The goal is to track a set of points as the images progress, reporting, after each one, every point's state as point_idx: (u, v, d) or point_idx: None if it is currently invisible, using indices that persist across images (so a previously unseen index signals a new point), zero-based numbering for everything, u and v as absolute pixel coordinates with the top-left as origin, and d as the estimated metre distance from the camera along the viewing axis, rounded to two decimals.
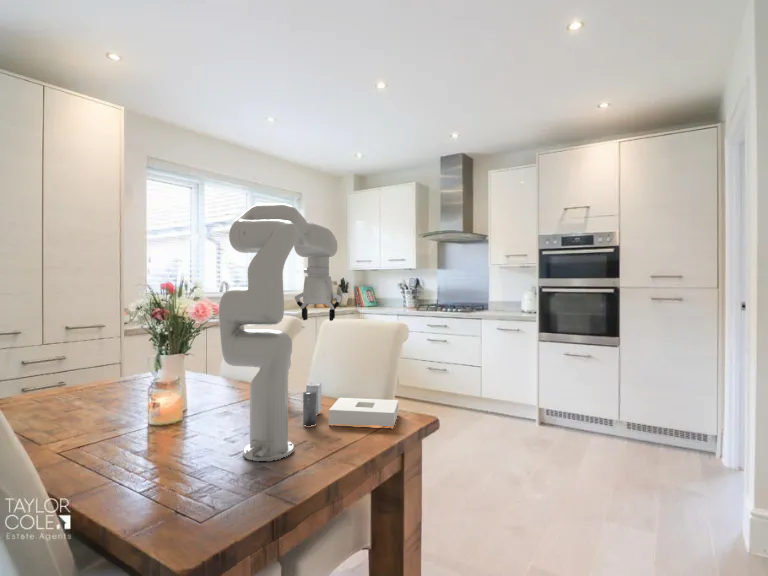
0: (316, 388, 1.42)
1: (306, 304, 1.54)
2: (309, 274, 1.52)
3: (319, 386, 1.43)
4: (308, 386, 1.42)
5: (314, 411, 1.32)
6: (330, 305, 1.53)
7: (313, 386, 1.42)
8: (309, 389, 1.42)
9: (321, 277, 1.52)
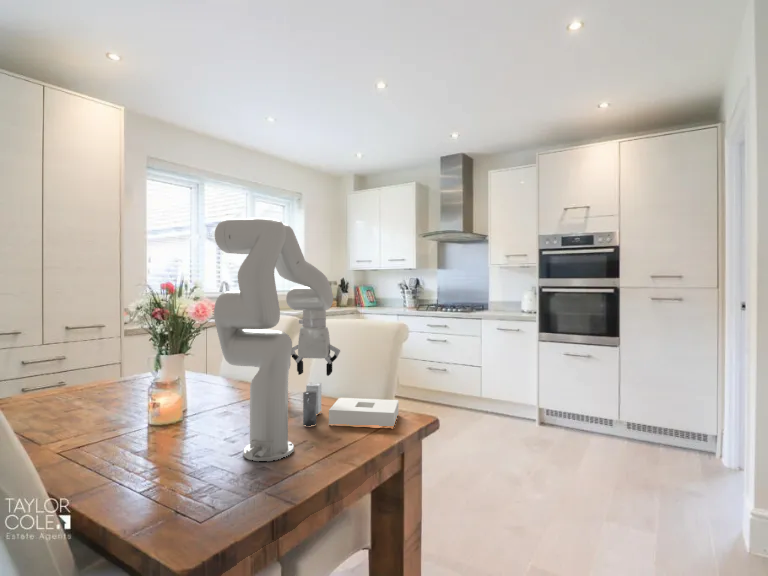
0: (316, 388, 1.42)
1: (301, 358, 1.44)
2: (304, 326, 1.41)
3: (319, 386, 1.43)
4: (308, 386, 1.42)
5: (314, 411, 1.32)
6: (327, 359, 1.42)
7: (313, 386, 1.42)
8: (309, 389, 1.42)
9: (317, 329, 1.41)
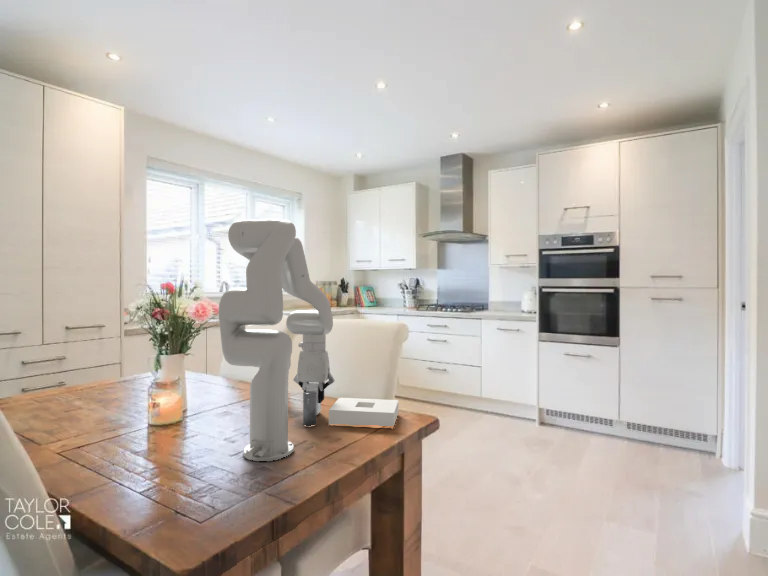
0: (316, 387, 1.42)
1: (306, 383, 1.43)
2: (304, 350, 1.41)
3: None
4: (308, 385, 1.42)
5: (314, 411, 1.32)
6: (320, 386, 1.42)
7: (313, 385, 1.42)
8: (309, 388, 1.42)
9: (317, 353, 1.41)
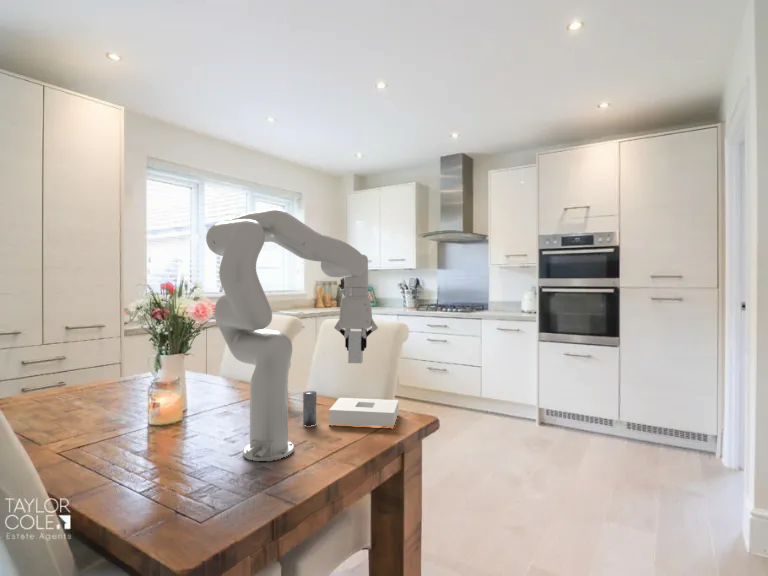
0: (359, 334, 1.37)
1: (348, 330, 1.38)
2: (346, 295, 1.36)
3: (361, 333, 1.38)
4: (351, 332, 1.37)
5: (314, 411, 1.32)
6: (363, 333, 1.37)
7: (356, 332, 1.37)
8: (351, 335, 1.37)
9: (360, 299, 1.36)
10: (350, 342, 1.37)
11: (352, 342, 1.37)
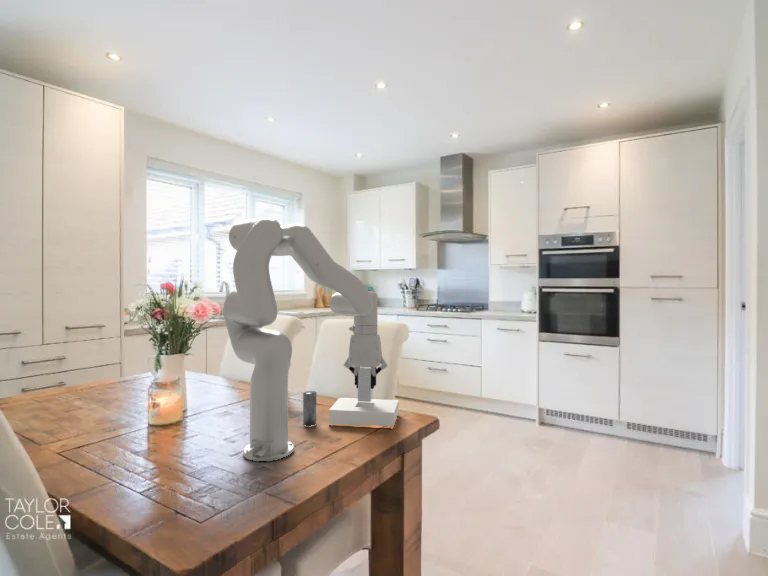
0: (369, 372, 1.36)
1: (358, 368, 1.37)
2: (356, 333, 1.35)
3: (371, 370, 1.37)
4: (360, 370, 1.36)
5: (314, 411, 1.32)
6: (373, 371, 1.36)
7: (365, 370, 1.36)
8: (361, 373, 1.36)
9: (369, 337, 1.35)
10: (360, 380, 1.36)
11: (361, 380, 1.36)
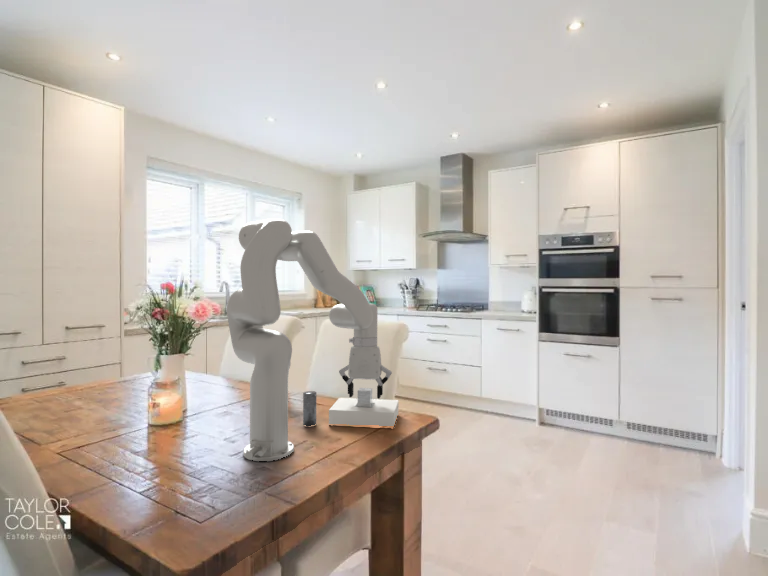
0: (368, 394, 1.35)
1: (352, 379, 1.37)
2: (356, 345, 1.35)
3: (371, 392, 1.37)
4: (359, 392, 1.35)
5: (314, 411, 1.32)
6: (378, 381, 1.36)
7: (365, 392, 1.35)
8: (360, 395, 1.35)
9: (369, 349, 1.35)
10: (359, 402, 1.35)
11: (361, 402, 1.35)
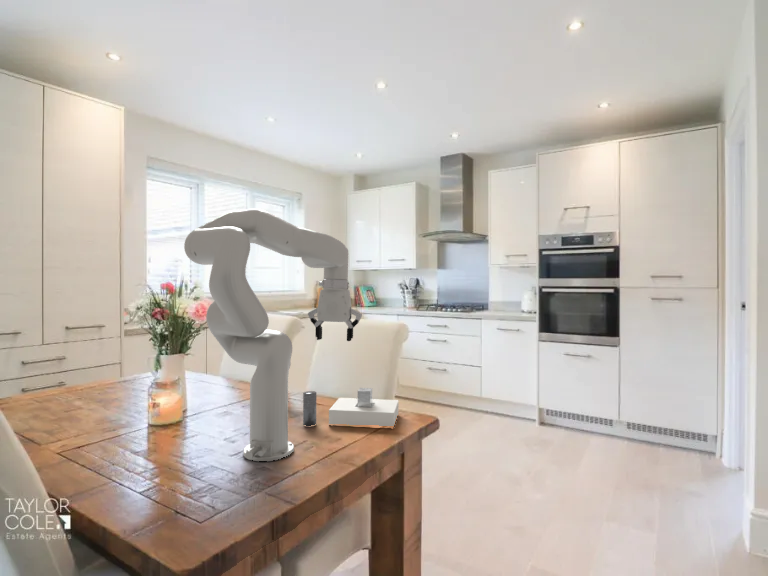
0: (368, 394, 1.35)
1: (321, 321, 1.35)
2: (325, 287, 1.33)
3: (371, 392, 1.37)
4: (359, 392, 1.35)
5: (314, 411, 1.32)
6: (348, 323, 1.33)
7: (365, 392, 1.35)
8: (360, 395, 1.35)
9: (338, 291, 1.33)
10: (359, 402, 1.35)
11: (361, 402, 1.35)
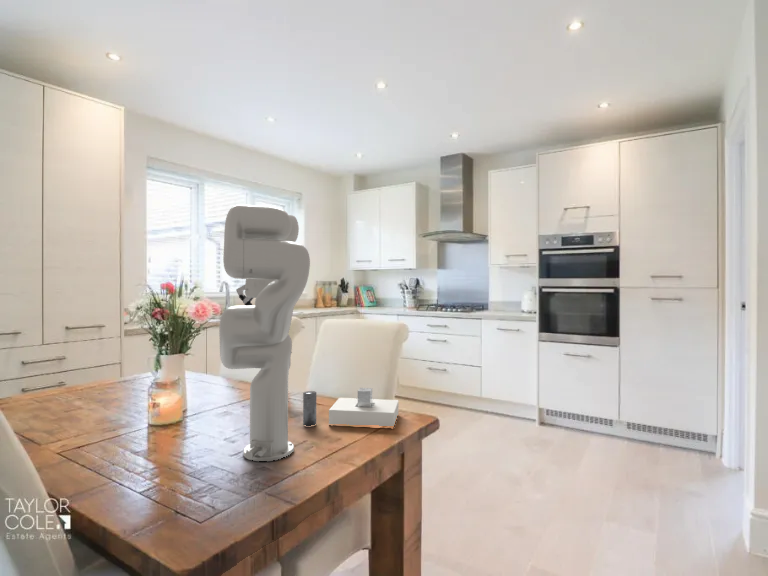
0: (368, 394, 1.35)
1: (249, 298, 1.31)
2: None
3: (371, 392, 1.37)
4: (360, 392, 1.35)
5: (314, 411, 1.32)
6: None
7: (365, 392, 1.35)
8: (360, 395, 1.35)
9: None
10: (359, 402, 1.35)
11: (361, 402, 1.35)
